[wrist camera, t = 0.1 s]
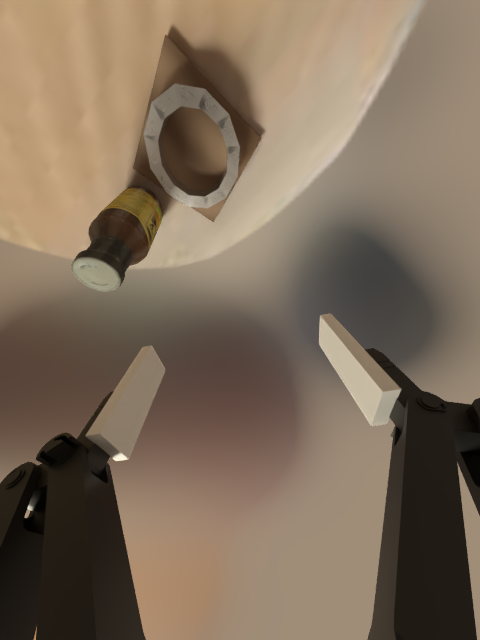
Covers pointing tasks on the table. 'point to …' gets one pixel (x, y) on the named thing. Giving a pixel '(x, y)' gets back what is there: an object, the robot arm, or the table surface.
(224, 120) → the steel collar
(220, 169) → the walnut base
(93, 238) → the sauce bottle
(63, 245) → the table surface
